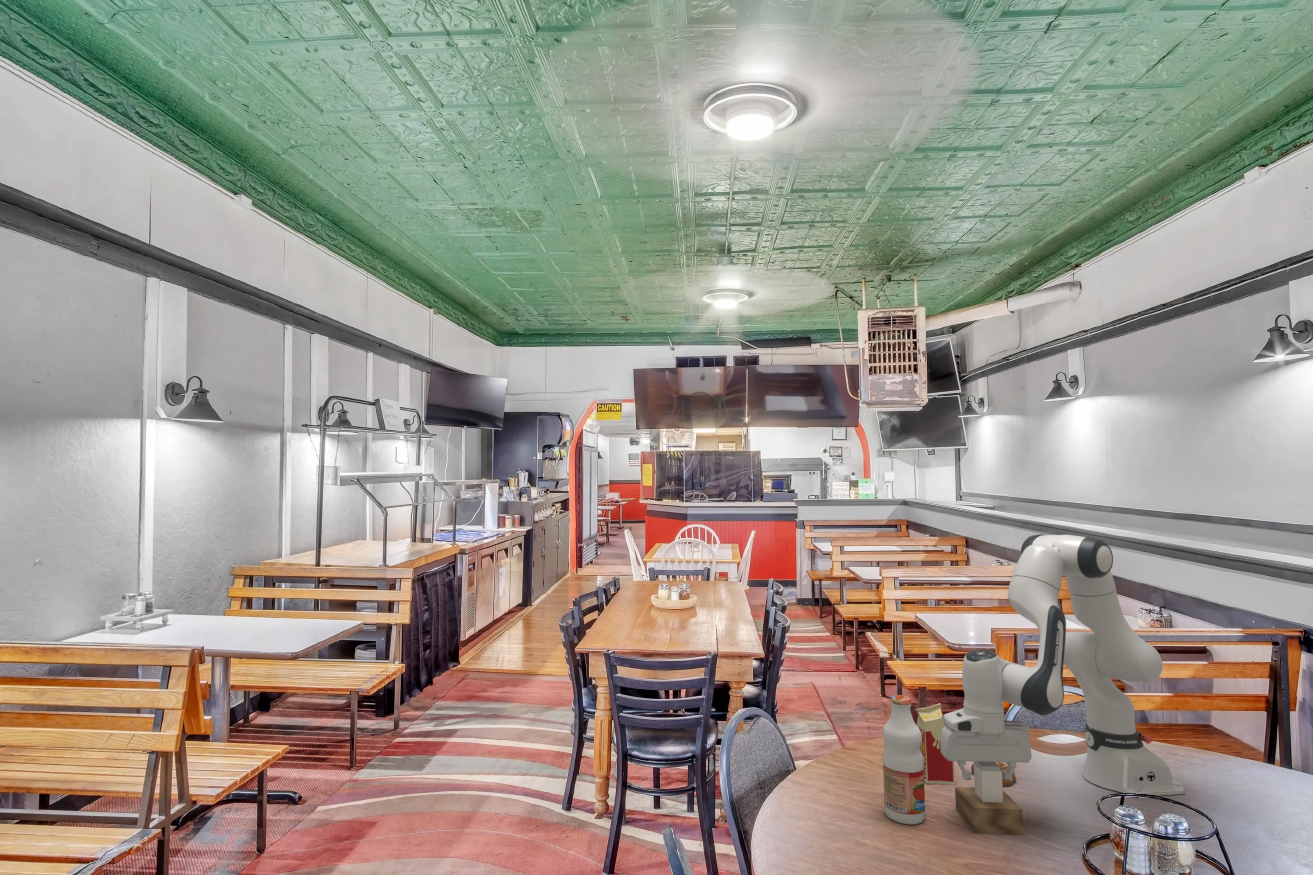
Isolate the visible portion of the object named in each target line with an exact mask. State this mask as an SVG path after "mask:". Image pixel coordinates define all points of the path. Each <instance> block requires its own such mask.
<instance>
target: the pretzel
mask: <svg viewBox="0 0 1313 875" xmlns="http://www.w3.org/2000/svg"><path fill="white" fill-rule="evenodd" d="M974 763H975V762H972V764H971V767H970V769H971V774H973V775H974ZM995 763H996V764H998V765H999V766H1000V770H1001V771H1005V770H1006V768H1007V766H1008V765H1006V764H1004V762H995ZM1002 775H1003V774H1002ZM1016 781H1017V778H1016V772H1015V770H1014V771H1013V773H1012V781H1005V780H1004V779H1003V778H1002V787H1010V786H1012V785H1013V784H1014V783H1015V782H1016Z"/></svg>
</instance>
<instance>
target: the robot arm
mask: <svg viewBox="0 0 1313 875" xmlns="http://www.w3.org/2000/svg"><path fill="white" fill-rule="evenodd" d="M1017 560H1018V561H1017V563H1016V565H1015V568H1014V569H1013V573H1012V575H1011V579H1010V582H1009V586H1008V589H1007V590H1008V591H1007V598H1008V601H1009V603H1010V605H1011V607H1012V608H1013V609H1014V610H1015V611H1016V613H1018V614H1019V615H1020V616H1021V617H1023V618H1024V619H1026V620H1028V621H1029V622H1030V623H1032V624H1034V625H1035V626H1036V628H1037V629H1038V631H1039V642H1038V643H1039V644H1038V652H1037V653H1038V654H1037V664H1036V665H1035V666H1033V667H1030V666H1027V665H1023V664H1018V663H1017V662H1013V661H1009V660H1006V659H1004V658H1001V657H1000V656H999V655H998V654H997V652H995V651H993V650H990V649H981V648H980V649H973V650H970V651H968V652H967V653H965V655H964V658H963V662H962V673H961V675H962V676H961V677H962V690H963V692H964V700H963V705H962V706H963V708H960V709H956V710H954V711H951V712H947V713H945V714H943V719H944V722H945V726H944V727H943V729H942V732H941V753H942V755H943V756H944V757H945V758H946V759H947V760H948V761H954V762H956V763H957V765H958V767H959V768H960V770H961V777H962V779H963V781H971V780H972V772H970V770H968V769H966V768H965V767H966V765H967V762H972V763H974V762H1000V763H1006V764H1007V765H1006V766H1007V768H1006V770H1005V771H1002V774H1003V775H1002V778H1003V779H1004V780H1005V781H1012V773H1013V771H1014V772H1015V769H1016V768H1017V763H1018V764H1019V763H1022V764H1023V763H1025V764H1027V763H1029V762H1030V761H1031V760H1032V758H1033V757H1032V749H1031V744H1030V740H1029V738H1030V728H1029V726H1028V724H1027V723H1024V722H1023V721H1022V720H1010V719H1009V720H1005V708H1004V705H1003V703H1004V702H1006V703H1008V704H1011V705H1015V706H1017V707H1020V708H1023V709H1026V710H1028V711H1030V712H1033V713H1035V714H1037V715H1040V716H1049V715H1051V714H1052V713H1055V712H1057V711H1058V710H1059V709H1060V708H1061V707H1062V705H1063V703H1064V698H1065V690H1064V688H1065V687H1064V678H1063V677H1064V674H1063V673H1064V666H1065V667H1066V668H1067V669H1068V670H1069V671H1070V673H1071V674H1072V675H1073V676H1074V678H1075V680H1076V681H1077V683H1078V685H1079V686H1080V688H1081V691H1082V694H1083V699H1084V706H1085V715H1086V716H1085V717H1086V723H1085V724H1084V727H1085V728H1084V730H1085V741H1086V742H1085V743H1086V746H1087V748H1086V759H1085V766H1084V770H1083V774H1082V775H1083V778H1084V779H1085V780H1086V781H1088V782H1089V783H1091V784H1094V785H1095V786H1098V787H1100V788H1103V789H1107V790H1111V791H1114V792H1118V793H1119V792H1120V793H1123V794H1125V793H1136V794H1148V795H1156V796H1155V797H1158V796H1172V795H1173V796H1174V795H1184V794H1185V790H1184V787H1183V785H1181V784H1180V783H1179V782H1178V781H1177V780H1175V779H1174V778H1173V776H1172V773H1171V769H1170V767H1169V765H1168V764H1167V763H1166V762H1165V761H1164V760H1163V759H1162V758H1160V756H1158V755H1157V754H1155V753H1154V752H1153V751H1152V750H1150V749H1149V748H1148V747H1147V746H1145V745H1144V743H1146V744H1152V742H1153V738H1152V737H1151V736H1150V735H1148V734H1146V733H1141V732H1140V731H1137V730H1136V721H1135V720H1136V719H1135V706H1134V703H1133V701H1132V699H1131V698H1130V697H1129V696H1128V695H1127V694H1126V693H1125V692H1123V691H1122V690H1120V689H1119V688H1118V687H1117V686H1116V685H1115V684H1114V682H1113V680H1112V679H1115V680H1116V679H1117V680H1120V681H1121V680H1122V681H1126V682H1130V683H1153V682H1155V681H1157V679H1159V677H1160V676H1161V674H1162V671H1163V660H1162V657H1161V655H1160V653H1159V652H1158V651H1157V649H1156V647H1154V646H1152V645H1151V644H1149V643H1148V642H1146V641H1145V640H1144V639H1143V638H1142V637H1141V636H1139V635H1138V634H1137V633H1136V632H1135V630H1134V629H1132V627H1131V625H1130V624H1129V623H1128V621H1127V619H1126V617H1125V616H1124V614H1123V611H1122V608H1121V604H1120V599H1119V596H1118V592H1117V588H1116V587H1117V586H1116V582H1115V580H1114V576H1113V573H1112V570H1111V569H1112V568H1113V564H1114V554H1113V551H1112V549H1111V547H1110V545H1108V543H1107V542H1105V541H1104V540H1102V539H1101V538H1096V537H1093V536H1087V537H1086V536H1081V535H1080V536H1079V535H1073V534H1043V533H1042V534H1033V535H1030V536H1028V537H1027V538H1026V539H1025V540H1024V541H1023V542H1022V545H1021V548H1020V557H1019V559H1017ZM1063 577H1066V582H1067V588H1068V593H1069V599H1070V603H1071V607H1072V612H1073V615H1074V617H1075V618H1076V620H1077V621H1078V622H1079V623H1080V624H1082V625H1083V626H1085V627H1086V628H1088V629H1089V630H1090V631H1092V632H1088V631H1067V620H1066V615H1065V613H1064V612H1063V610H1062V609H1061V608H1060V607H1059V594H1060V590H1061V587H1062V581H1063ZM1143 742H1144V743H1143Z"/></svg>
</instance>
